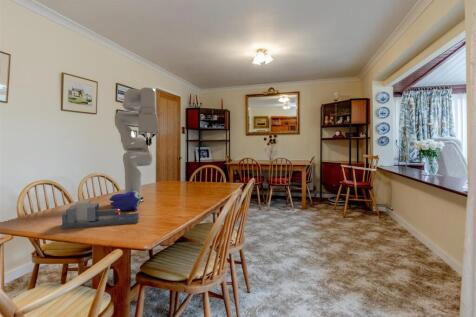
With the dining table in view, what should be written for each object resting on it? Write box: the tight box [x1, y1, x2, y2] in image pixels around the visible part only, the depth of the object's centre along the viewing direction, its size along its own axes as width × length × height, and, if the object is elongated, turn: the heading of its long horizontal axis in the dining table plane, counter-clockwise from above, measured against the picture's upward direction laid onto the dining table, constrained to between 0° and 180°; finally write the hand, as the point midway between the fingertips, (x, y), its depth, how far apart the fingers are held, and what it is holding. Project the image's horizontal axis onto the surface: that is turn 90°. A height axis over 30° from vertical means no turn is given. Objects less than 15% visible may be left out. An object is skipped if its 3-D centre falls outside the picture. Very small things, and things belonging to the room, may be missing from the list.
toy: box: [109, 191, 144, 212], centre depth 147 cm, size 10×17×15 cm
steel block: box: [75, 200, 92, 222], centre depth 119 cm, size 5×5×8 cm
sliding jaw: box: [87, 202, 121, 221], centre depth 121 cm, size 9×13×6 cm
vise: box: [61, 204, 140, 230], centre depth 121 cm, size 10×30×8 cm, turn 108°
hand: (148, 145), depth 143 cm, fingers closed
